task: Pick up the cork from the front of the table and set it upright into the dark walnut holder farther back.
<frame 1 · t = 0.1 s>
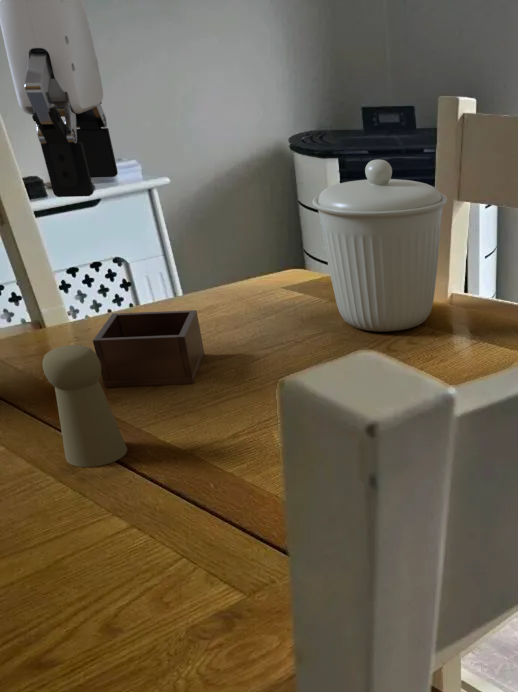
hand: (88, 185, 75), 24 cm above the table, tool pointing down, fingers open, 9 cm apart
canister: (386, 323, 121), on the table
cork: (97, 455, 86), on the table
holder: (156, 370, 105), on the table
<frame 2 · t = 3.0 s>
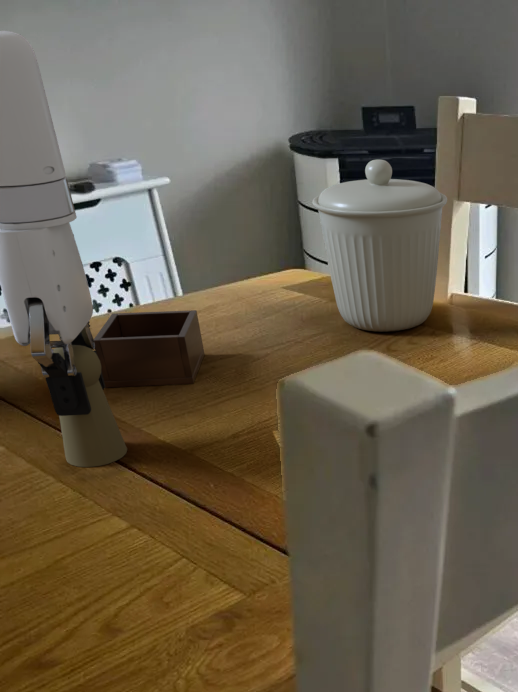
hand: (81, 400, 82), 6 cm above the table, tool pointing down, fingers closed on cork, 5 cm apart
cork: (97, 455, 86), on the table, touching gripper
everything else where it was.
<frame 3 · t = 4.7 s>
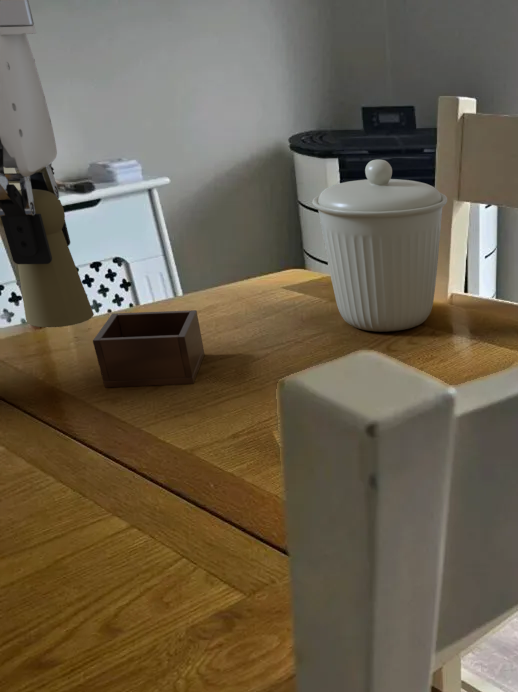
hand: (43, 252, 75), 19 cm above the table, tool pointing down, fingers closed on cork, 5 cm apart
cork: (60, 319, 79), point 13 cm above the table, touching gripper
everything else where it was.
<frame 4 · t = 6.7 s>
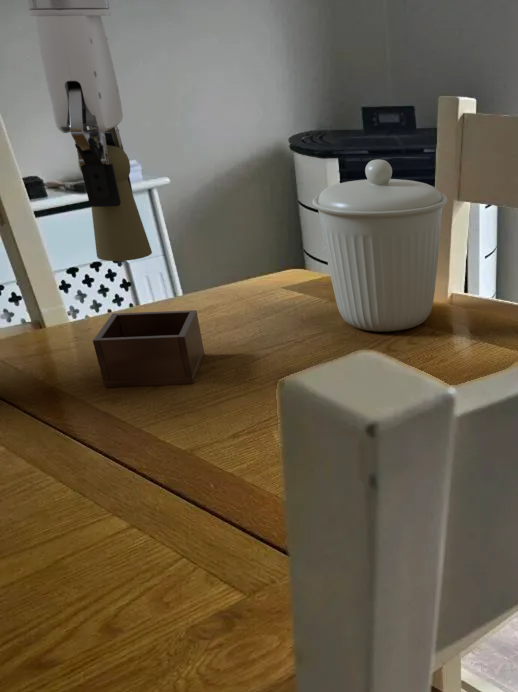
hand: (111, 198, 91), 20 cm above the table, tool pointing down, fingers closed on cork, 5 cm apart
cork: (125, 256, 95), point 14 cm above the table, touching gripper
everything else where it was.
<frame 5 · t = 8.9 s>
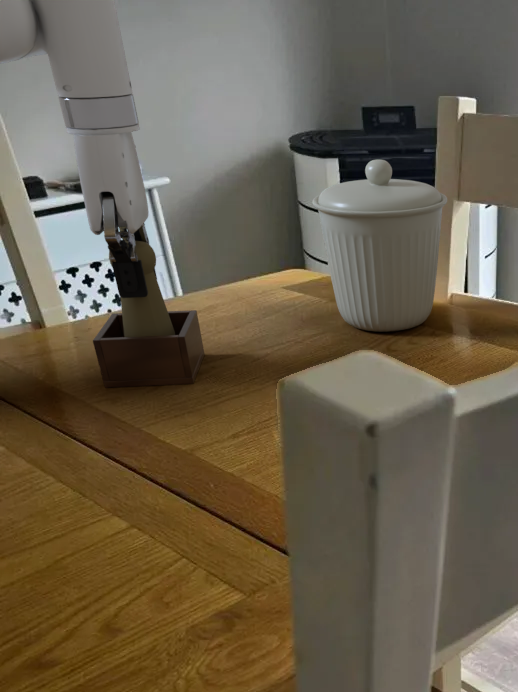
hand: (138, 288, 99), 10 cm above the table, tool pointing down, fingers closed on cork, 5 cm apart
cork: (150, 338, 103), point 4 cm above the table, touching gripper
everything else where it was.
when the fingers open (7 cm above the table, at t = 10.3 s): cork stays where it is, resting on holder.
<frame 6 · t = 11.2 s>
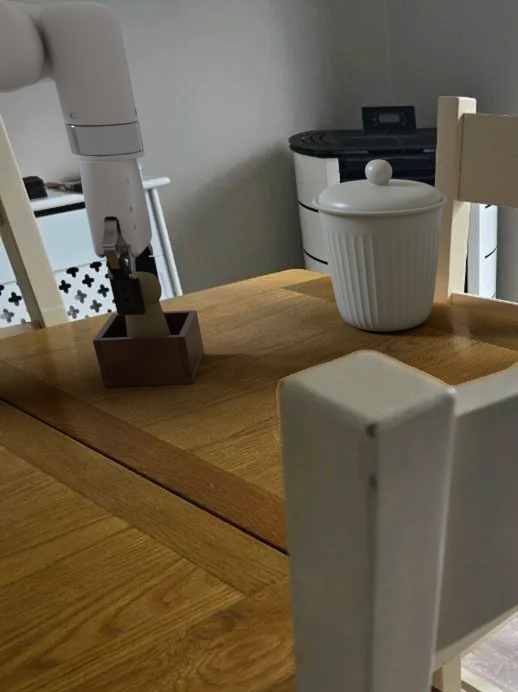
hand: (140, 301, 100), 9 cm above the table, tool pointing down, fingers open, 9 cm apart
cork: (155, 365, 105), point 1 cm above the table, touching holder
everything else where it was.
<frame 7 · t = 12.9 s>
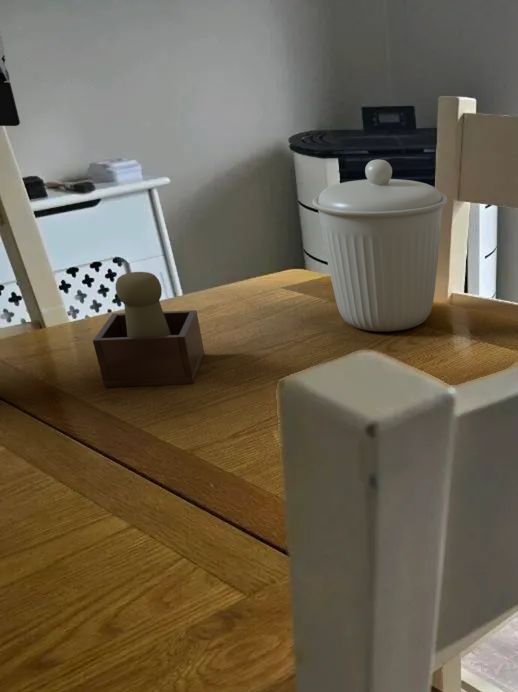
nothing on the table moved.
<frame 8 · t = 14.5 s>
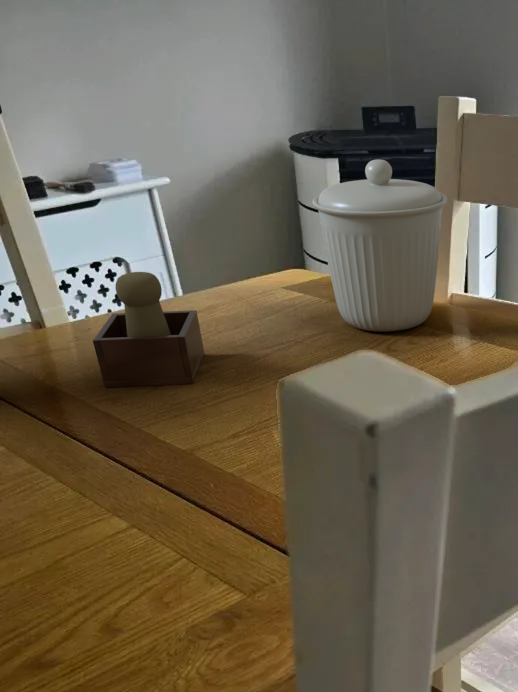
nothing on the table moved.
at the end: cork 0.0 cm off-centre in the holder, point 0.6 cm above the holder's base; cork tilted 0° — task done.
